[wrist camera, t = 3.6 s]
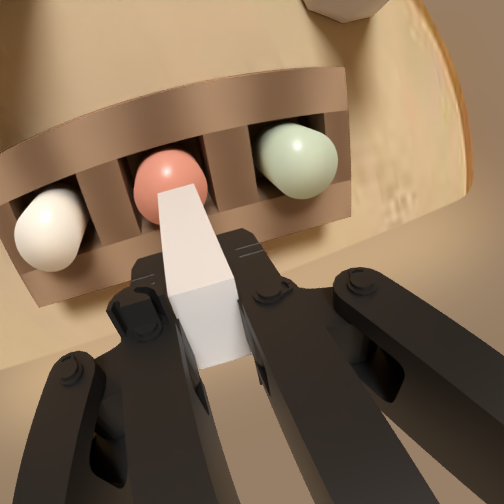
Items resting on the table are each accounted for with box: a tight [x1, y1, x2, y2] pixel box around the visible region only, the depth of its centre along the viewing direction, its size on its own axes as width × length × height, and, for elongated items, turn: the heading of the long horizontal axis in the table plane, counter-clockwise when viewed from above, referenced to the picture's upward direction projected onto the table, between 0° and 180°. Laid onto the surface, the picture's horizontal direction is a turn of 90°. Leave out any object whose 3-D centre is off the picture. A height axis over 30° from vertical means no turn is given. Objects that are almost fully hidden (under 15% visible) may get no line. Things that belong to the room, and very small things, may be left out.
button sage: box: [252, 121, 338, 199], centre depth 17 cm, size 4×4×4 cm
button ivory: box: [14, 183, 89, 272], centre depth 15 cm, size 4×4×4 cm
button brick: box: [134, 143, 208, 225], centre depth 17 cm, size 4×4×4 cm
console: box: [0, 67, 351, 308], centre depth 18 cm, size 22×10×4 cm, turn 99°
